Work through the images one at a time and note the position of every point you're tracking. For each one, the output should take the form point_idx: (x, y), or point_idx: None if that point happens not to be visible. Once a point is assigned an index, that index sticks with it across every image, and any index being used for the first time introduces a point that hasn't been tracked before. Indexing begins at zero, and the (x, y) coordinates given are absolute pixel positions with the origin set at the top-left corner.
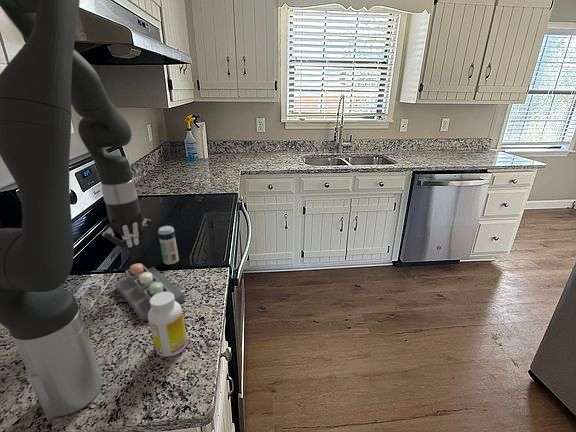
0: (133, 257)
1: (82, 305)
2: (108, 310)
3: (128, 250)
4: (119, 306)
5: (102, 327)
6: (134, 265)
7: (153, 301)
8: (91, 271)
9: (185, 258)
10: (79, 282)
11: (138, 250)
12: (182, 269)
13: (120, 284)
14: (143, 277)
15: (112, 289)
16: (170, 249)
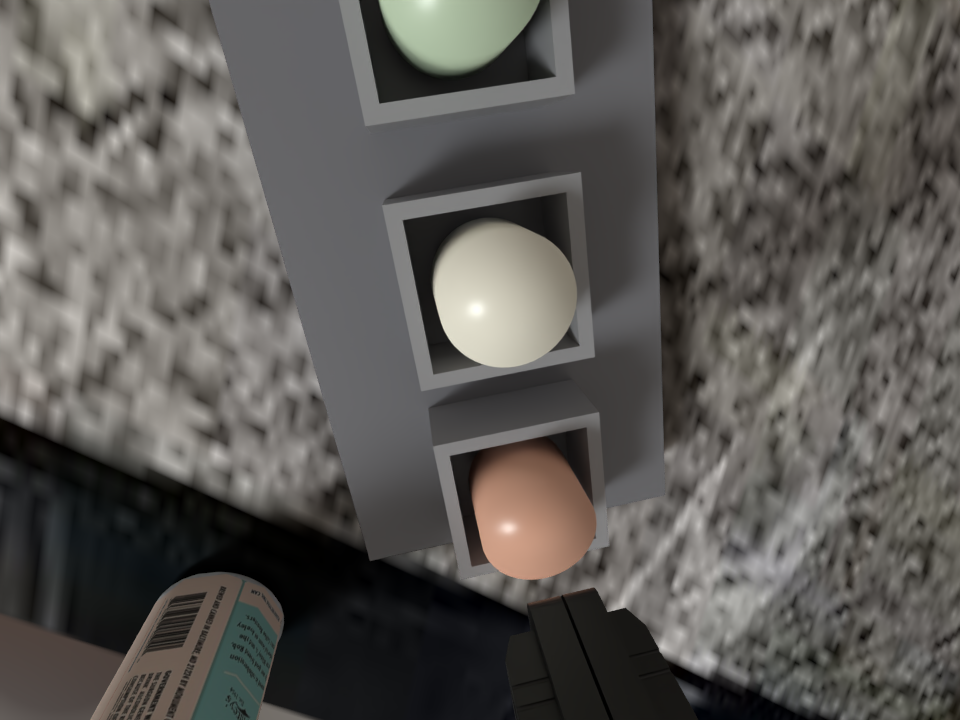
0: (599, 596)
1: (846, 383)
2: (757, 228)
3: (692, 710)
4: (689, 231)
5: (850, 37)
6: (549, 554)
7: None
8: (700, 697)
9: (100, 611)
10: (780, 620)
11: (534, 691)
12: (150, 468)
13: (644, 442)
14: (537, 271)
15: (665, 462)
16: (154, 703)
